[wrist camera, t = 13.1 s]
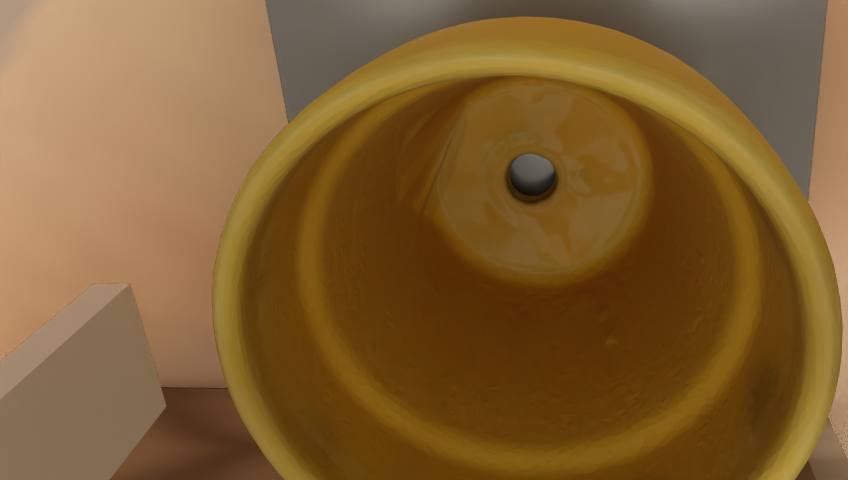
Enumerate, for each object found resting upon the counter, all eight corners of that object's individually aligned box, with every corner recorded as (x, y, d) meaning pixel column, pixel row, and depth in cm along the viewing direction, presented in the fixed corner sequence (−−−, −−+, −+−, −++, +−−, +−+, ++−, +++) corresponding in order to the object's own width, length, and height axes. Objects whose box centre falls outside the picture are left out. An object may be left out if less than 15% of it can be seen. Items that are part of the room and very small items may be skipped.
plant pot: (282, 130, 22) (84, 288, 13) (585, -120, 18) (592, -130, 9) (496, 385, 24) (449, 665, 15) (808, 215, 20) (984, 464, 11)
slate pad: (341, 366, 26) (336, 376, 25) (259, -79, 20) (250, -78, 20) (786, 370, 23) (790, 381, 22) (834, -150, 17) (842, -151, 17)
